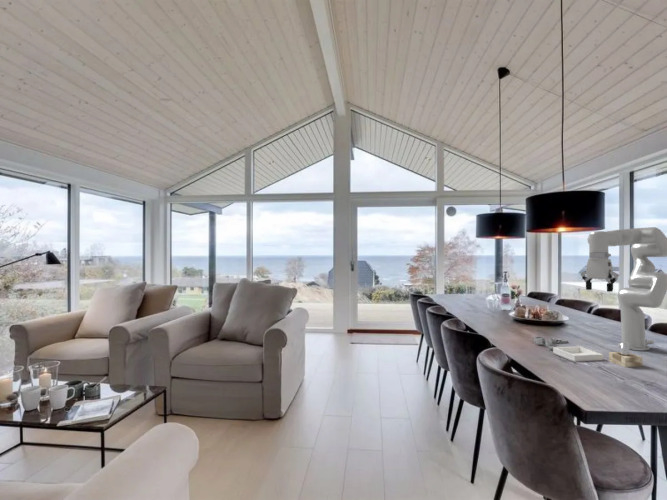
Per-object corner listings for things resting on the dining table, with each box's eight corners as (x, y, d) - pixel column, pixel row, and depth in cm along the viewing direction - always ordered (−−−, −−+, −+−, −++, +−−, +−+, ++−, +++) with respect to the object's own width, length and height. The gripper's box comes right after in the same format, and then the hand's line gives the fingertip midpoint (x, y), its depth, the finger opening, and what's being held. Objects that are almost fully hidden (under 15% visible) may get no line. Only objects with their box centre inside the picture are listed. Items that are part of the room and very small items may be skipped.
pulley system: (528, 349, 184) (562, 352, 175) (528, 340, 185) (561, 343, 175) (539, 340, 205) (569, 343, 195) (538, 333, 205) (568, 335, 196)
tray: (579, 353, 172) (579, 346, 172) (603, 362, 158) (603, 354, 158) (553, 354, 171) (553, 347, 171) (574, 363, 157) (574, 355, 157)
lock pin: (625, 362, 154) (624, 342, 154) (631, 364, 151) (631, 344, 151) (619, 362, 154) (618, 342, 154) (625, 364, 151) (624, 344, 151)
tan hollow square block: (625, 362, 157) (625, 351, 157) (642, 368, 149) (642, 356, 149) (609, 363, 156) (608, 352, 156) (625, 369, 148) (624, 357, 149)
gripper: (623, 256, 163) (623, 292, 163) (586, 256, 180) (586, 288, 179) (612, 256, 161) (613, 292, 160) (576, 256, 177) (576, 289, 177)
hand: (599, 290), depth 170 cm, fingers open, 9 cm apart
